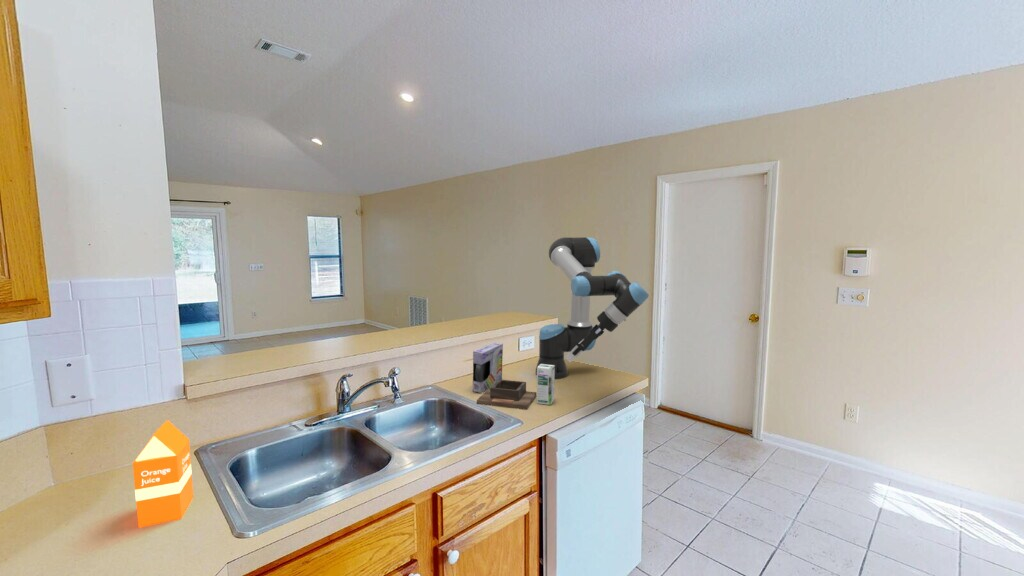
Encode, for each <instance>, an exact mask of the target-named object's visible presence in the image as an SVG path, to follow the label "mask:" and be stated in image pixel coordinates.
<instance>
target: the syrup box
mask: <svg viewBox="0 0 1024 576" xmlns="http://www.w3.org/2000/svg"><path fill="white" fill-rule="evenodd" d="M536 367H537V366H536ZM554 374H555V366H554V365H547V364H540V365H539V366H538V367H537V375H536V404H538V405H539V404H540V405H548V406H551V405H552V404H553V403H554V401H555V379H554Z"/></svg>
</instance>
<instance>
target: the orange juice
mask: <svg viewBox="0 0 1024 576" xmlns="http://www.w3.org/2000/svg"><path fill="white" fill-rule="evenodd" d="M144 446H145V447H144V448H143V449H142V450H141V452H140V453H139V454H138V455H137V457H136V458H135V459H134V460H133V462H132V468H133V480H134V495H135V496H134V497H135V502H136V512H137V513H136V514H137V524H138V527H137V528H138V529H139V528H144V527H148V526H153V525H154V526H155V525H158V524H162V523H163V524H164V523H166V522H171V521H177V520H182V519H183V518H184V515H185V514H186V511H187V510H188V508H189V506H190V504H191V502H192V501H193V499H194V487H193V472H192V461H191V449H190V448H191V447H190V438H188V437H187V435H185V434H184V433H183V432H181V430H180V429H179V428H177V427H175V425H174V424H173V422H172V423H171V422H170V420H168V419H166V421H164V422H163V423H162V425H161V426H160V427H159V428H158V429H156V431H155V432H154V433H152V437H151V438H150V439H149V441H148V442H147V444H146V445H144Z"/></svg>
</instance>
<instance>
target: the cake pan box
mask: <svg viewBox="0 0 1024 576" xmlns="http://www.w3.org/2000/svg"><path fill="white" fill-rule="evenodd" d="M503 351H504V344H503V343H501V342H497V341H494V342H493V343H490V344H488V345H485V346H482V347H480V348H478V349H476V350H473V352H472V353H473V354H472V359H473V360H472V392H473V393H477V392H478V394H482V392H483V393H485V392H486V391H487V390H488V389H489V388H491V387H492V386H493V385H494V384H495V383H496V382H497V381H498V380H499V379H500V380H503V358H504V357H503V355H504V354H503V353H504V352H503Z"/></svg>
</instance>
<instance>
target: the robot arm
mask: <svg viewBox="0 0 1024 576" xmlns="http://www.w3.org/2000/svg"><path fill="white" fill-rule="evenodd" d="M548 257H549V259H550V262H551V263H552V264H553V265H554V266H556V267H559V269H560V270H561V271H562V272H563V273H564V275H565V277H567V278H568V279H569V280H570V289H571V307H570V319H569V320H568V321H567V326H565V325H564V324H559V323H557V324H556V323H553V324H547V325H544V326H541V328H540V330H539V334H538V340H539V341H538V342H539V348H538V349H539V350H538V351H539V353H538V355H539V356H538V361H537V364H536V367H535V376H537V367H538V366H539V365H540V364H547V365H554V366H555V374H554V380H557V379H563V378H566V377H567V376H568V368H567V364H566V361H568V362H569V363H572V362H573V360H575V359H576V358H577V357H578V356H579V355H580V354H581V353H582V352H586V351H590V350H593V348H594V347H595V345H596V342H597V339H598V338H599V337H601V336H602V335H603V334H604V333H605V329H606V331H608V332H609V333H612V332H613V331H615V330H616V329H617V328H618V326H619V325H620V324H622V323H623V321H624V322H626V321H627V318H629V316H631V314H633V312H635V311H636V310H637V309H638V308H639V307H640V306H642V304H644V302H646V300H647V299H648V298H649V292H648V291H647V290H646V289H645V288H644V287H643V286H642V285H641V284H640V283H638V281H634V282H632V283H631V282H630V281H629V279H628V278H627V277H626V275H624V274H623V273H622V272H621V271H619V270H613V271H610V272H608V273H607V274H606V275H593V274H592V270H593V269H594V268H595V265H596V263H598V262H599V261H600V259H601V248H600V245H599V243H598V241H597V239H595V238H593V237H587V236H585V237H567V236H565V237H560V238H558V239H556V240H555V241H554V242H552V243H551V245H550V247H549V248H548ZM598 296H599V297H601V296H602V297H603V296H604V297H605V296H614V297H615V300H613V301H612V302H610V304H609V305H608V306H607V307H606V308H605V309H604V311H602V312H601V313H599V314H598V315H597V316H596V319H597V322H598V323H599V324H595V325H594V326H593V323H592V322H591V321H590V306H591V305H590V304H591V297H598ZM565 353H567V355H566V356H565Z"/></svg>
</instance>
